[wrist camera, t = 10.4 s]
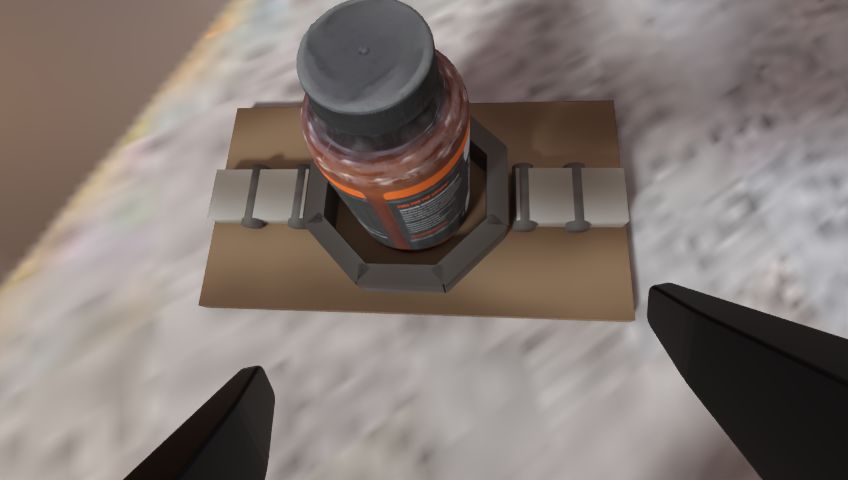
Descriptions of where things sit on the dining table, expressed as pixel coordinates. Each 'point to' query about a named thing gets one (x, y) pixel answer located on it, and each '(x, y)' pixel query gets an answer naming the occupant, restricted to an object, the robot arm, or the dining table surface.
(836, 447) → the robot arm
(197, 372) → the dining table surface
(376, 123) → the supplement bottle
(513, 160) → the octagonal bottle holder
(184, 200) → the dining table surface
